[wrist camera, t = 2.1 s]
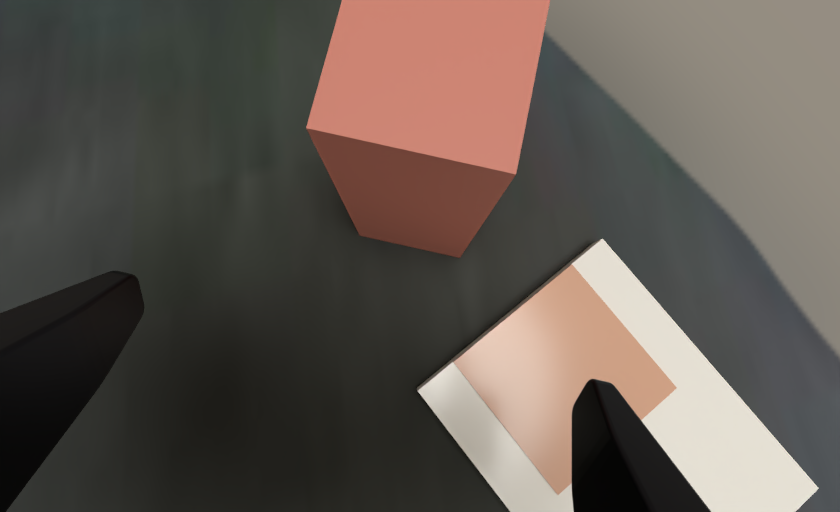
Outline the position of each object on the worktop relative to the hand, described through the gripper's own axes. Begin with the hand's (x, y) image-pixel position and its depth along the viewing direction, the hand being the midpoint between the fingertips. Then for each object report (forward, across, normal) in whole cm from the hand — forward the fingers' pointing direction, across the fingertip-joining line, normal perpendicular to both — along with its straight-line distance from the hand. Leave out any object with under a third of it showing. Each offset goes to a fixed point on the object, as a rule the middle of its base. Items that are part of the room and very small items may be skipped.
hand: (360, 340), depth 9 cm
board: (+8, -11, +11) cm, 17 cm away
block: (+14, 0, +4) cm, 15 cm away
